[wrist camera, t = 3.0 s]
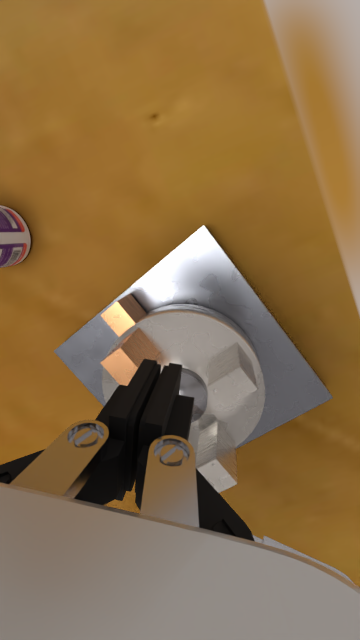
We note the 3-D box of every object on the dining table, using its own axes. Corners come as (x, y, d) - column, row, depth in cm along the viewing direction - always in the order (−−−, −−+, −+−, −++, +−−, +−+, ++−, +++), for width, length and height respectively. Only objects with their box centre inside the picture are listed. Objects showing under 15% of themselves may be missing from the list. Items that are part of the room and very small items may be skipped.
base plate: (325, 385, 26) (350, 424, 21) (175, 467, 31) (165, 514, 26) (205, 225, 23) (199, 223, 18) (65, 343, 29) (28, 368, 24)
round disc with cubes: (291, 392, 24) (316, 452, 18) (175, 457, 28) (159, 526, 21) (181, 250, 22) (162, 257, 15) (72, 341, 26) (19, 378, 19)
